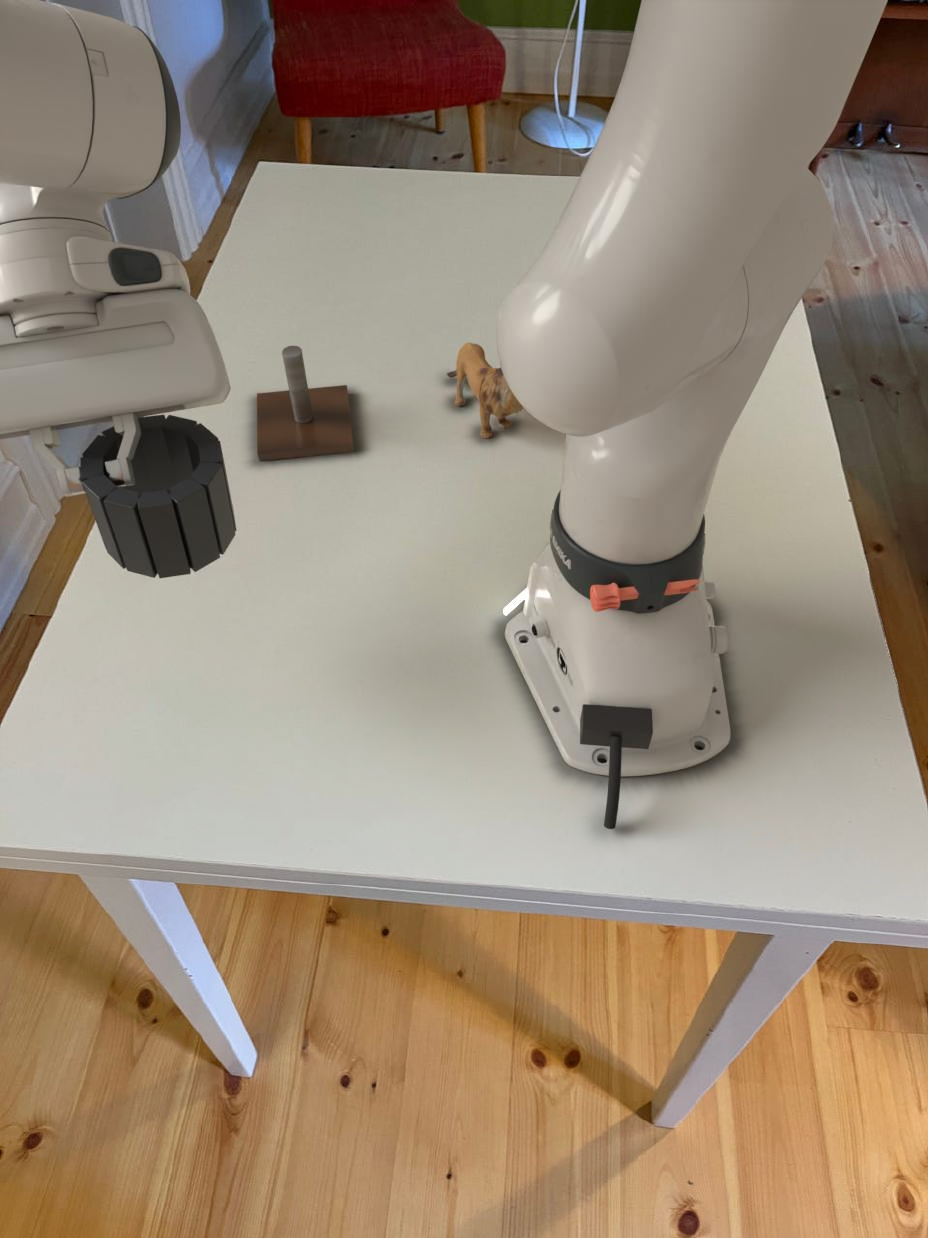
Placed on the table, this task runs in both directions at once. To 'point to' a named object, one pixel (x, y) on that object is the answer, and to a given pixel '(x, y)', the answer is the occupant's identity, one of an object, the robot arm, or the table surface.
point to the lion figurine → (484, 387)
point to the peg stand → (302, 416)
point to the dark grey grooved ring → (162, 498)
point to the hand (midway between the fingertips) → (100, 490)
